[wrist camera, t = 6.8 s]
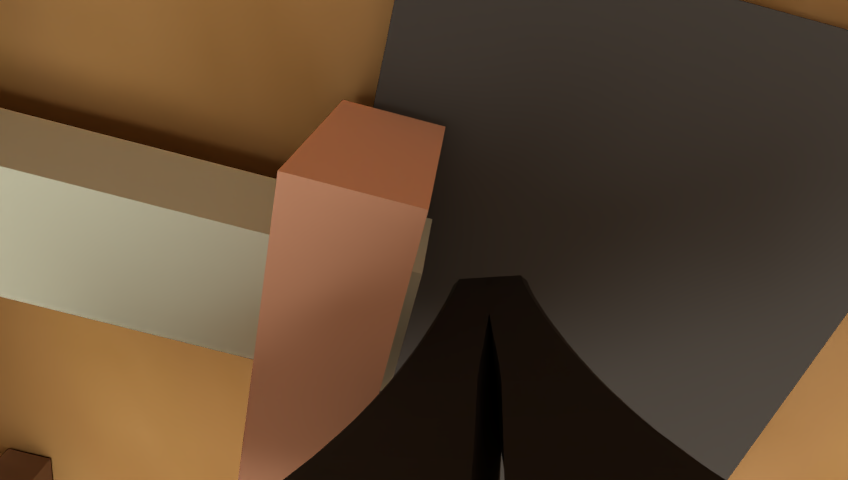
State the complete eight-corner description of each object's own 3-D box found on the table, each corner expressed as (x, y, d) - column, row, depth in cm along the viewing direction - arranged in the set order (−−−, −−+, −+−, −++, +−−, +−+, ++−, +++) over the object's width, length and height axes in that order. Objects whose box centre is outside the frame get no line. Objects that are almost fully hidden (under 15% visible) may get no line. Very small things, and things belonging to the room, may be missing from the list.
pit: (997, 71, 10) (1017, 76, 9) (680, 524, 15) (685, 538, 15) (415, -88, 9) (412, -90, 9) (309, 433, 15) (305, 445, 14)
